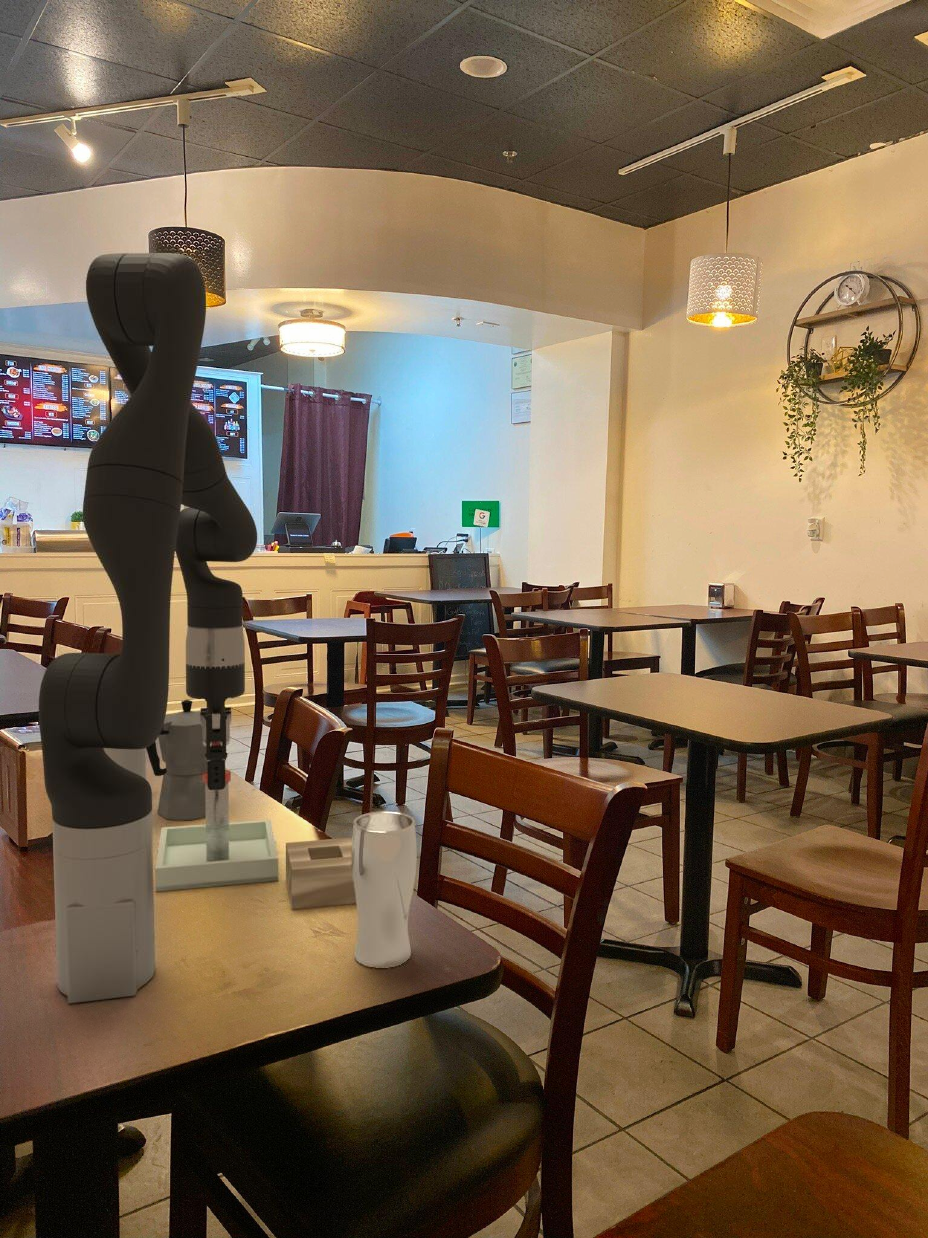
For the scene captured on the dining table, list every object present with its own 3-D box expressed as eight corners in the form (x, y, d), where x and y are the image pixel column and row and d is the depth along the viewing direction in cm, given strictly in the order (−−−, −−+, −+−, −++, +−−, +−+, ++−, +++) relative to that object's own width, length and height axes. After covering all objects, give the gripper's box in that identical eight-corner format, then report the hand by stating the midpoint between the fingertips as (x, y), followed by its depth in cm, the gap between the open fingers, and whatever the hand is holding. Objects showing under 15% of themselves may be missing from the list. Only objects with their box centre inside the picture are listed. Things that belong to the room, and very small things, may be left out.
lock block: (366, 902, 109) (366, 863, 108) (292, 909, 106) (292, 869, 106) (354, 873, 117) (355, 837, 117) (286, 880, 115) (285, 842, 114)
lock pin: (231, 863, 118) (231, 776, 117) (203, 865, 118) (202, 777, 116) (231, 853, 122) (230, 768, 121) (204, 855, 121) (202, 770, 120)
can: (97, 792, 149) (95, 722, 148) (144, 787, 152) (142, 719, 151) (99, 805, 142) (97, 732, 141) (148, 800, 145) (146, 728, 144)
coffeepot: (194, 795, 148) (192, 690, 146) (239, 804, 144) (238, 695, 142) (123, 823, 134) (120, 707, 132) (171, 834, 131) (169, 714, 128)
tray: (278, 880, 115) (278, 858, 114) (155, 891, 111) (155, 868, 110) (270, 839, 129) (270, 819, 129) (162, 848, 125) (161, 827, 125)
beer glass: (343, 945, 98) (344, 814, 96) (404, 936, 100) (406, 808, 99) (358, 976, 91) (360, 836, 90) (423, 965, 94) (425, 829, 92)
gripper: (246, 667, 111) (247, 794, 113) (242, 651, 125) (243, 764, 126) (184, 669, 109) (185, 797, 111) (187, 652, 122) (188, 767, 124)
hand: (216, 780), depth 118 cm, fingers open, 8 cm apart
